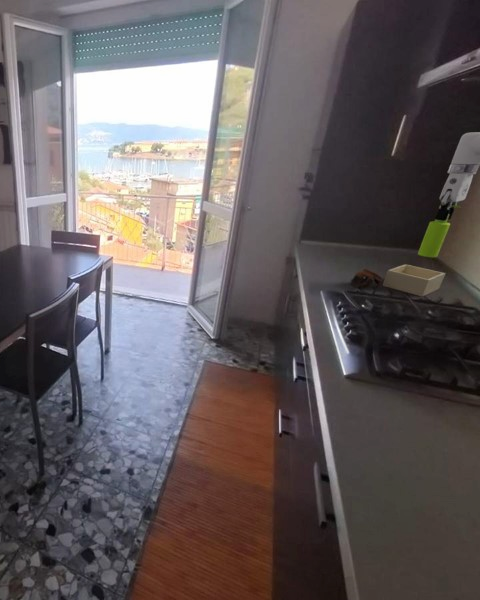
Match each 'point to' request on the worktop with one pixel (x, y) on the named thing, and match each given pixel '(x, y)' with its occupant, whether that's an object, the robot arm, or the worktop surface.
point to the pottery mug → (365, 279)
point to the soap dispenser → (434, 237)
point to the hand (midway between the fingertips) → (442, 218)
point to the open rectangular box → (413, 279)
